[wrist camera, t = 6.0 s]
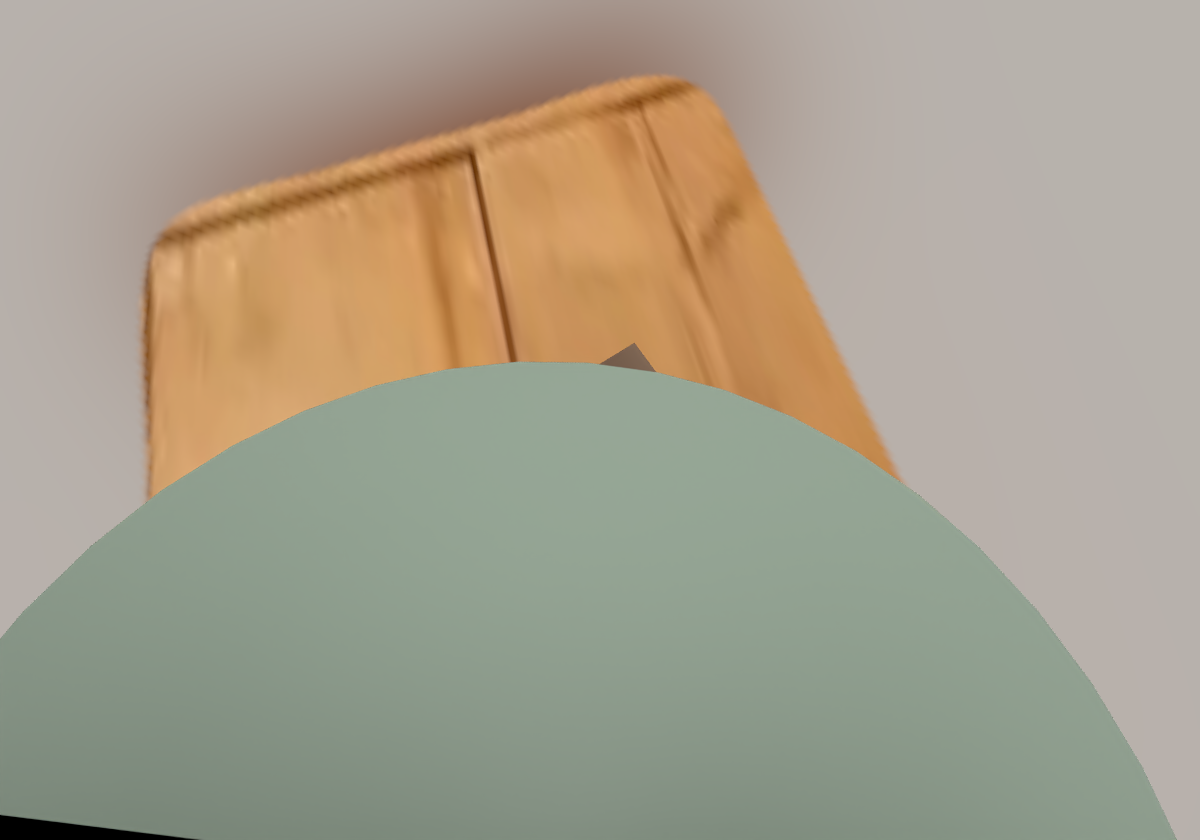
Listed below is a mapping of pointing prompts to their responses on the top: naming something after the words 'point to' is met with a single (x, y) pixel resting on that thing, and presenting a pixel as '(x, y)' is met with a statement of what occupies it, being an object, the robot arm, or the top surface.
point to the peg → (549, 640)
